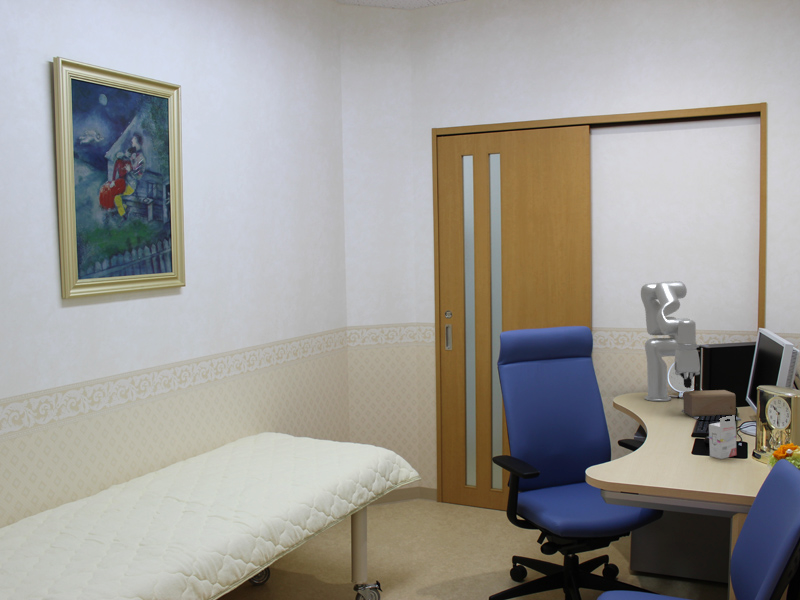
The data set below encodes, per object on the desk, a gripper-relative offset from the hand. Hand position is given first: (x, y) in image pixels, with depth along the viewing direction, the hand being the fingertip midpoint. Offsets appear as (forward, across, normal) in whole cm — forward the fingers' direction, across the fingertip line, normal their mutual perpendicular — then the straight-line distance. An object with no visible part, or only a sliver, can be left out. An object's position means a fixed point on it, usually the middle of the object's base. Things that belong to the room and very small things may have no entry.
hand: (687, 387), depth 304 cm
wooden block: (+8, +1, 0) cm, 8 cm away
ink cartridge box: (+13, +11, +66) cm, 68 cm away
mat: (+13, -10, 0) cm, 16 cm away
